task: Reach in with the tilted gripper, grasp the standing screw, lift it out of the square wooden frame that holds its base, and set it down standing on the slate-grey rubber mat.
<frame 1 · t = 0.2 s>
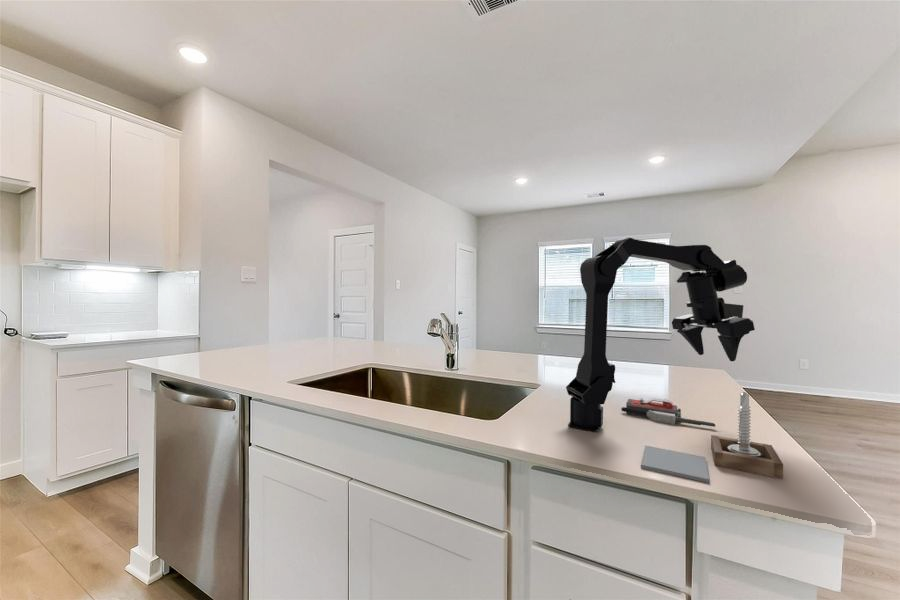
hand: (716, 357, 92), 15 cm above the worktop, tool pointing down, fingers open, 9 cm apart
square wooden frame: (743, 461, 69), on the worktop
mat: (673, 463, 68), on the worktop
walkie-talkie: (665, 420, 94), on the worktop
screw: (743, 462, 69), on the worktop
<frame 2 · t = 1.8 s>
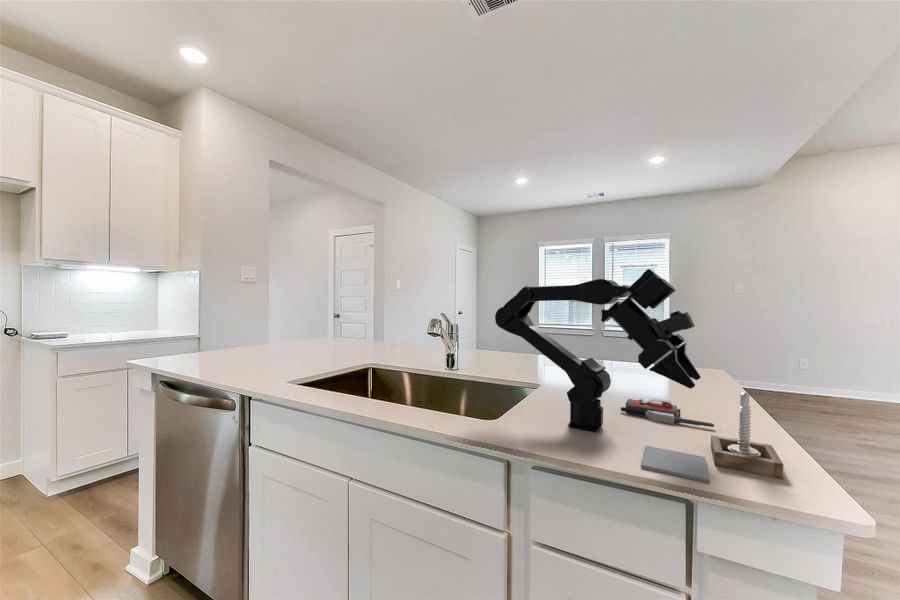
hand: (696, 382, 74), 13 cm above the worktop, tool tilted 45°, fingers open, 9 cm apart
nothing on the worktop moved.
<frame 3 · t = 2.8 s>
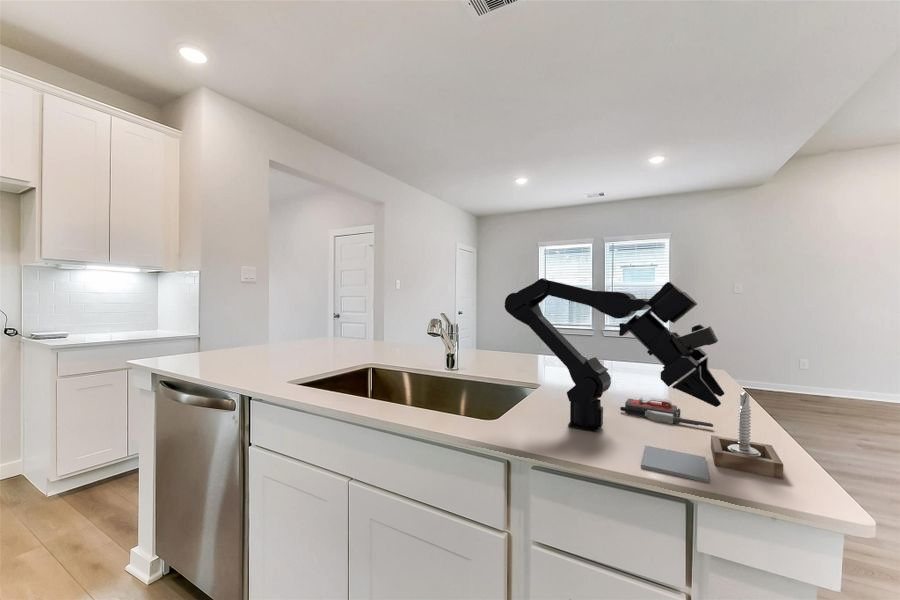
hand: (720, 400, 71), 11 cm above the worktop, tool tilted 45°, fingers open, 9 cm apart
nothing on the worktop moved.
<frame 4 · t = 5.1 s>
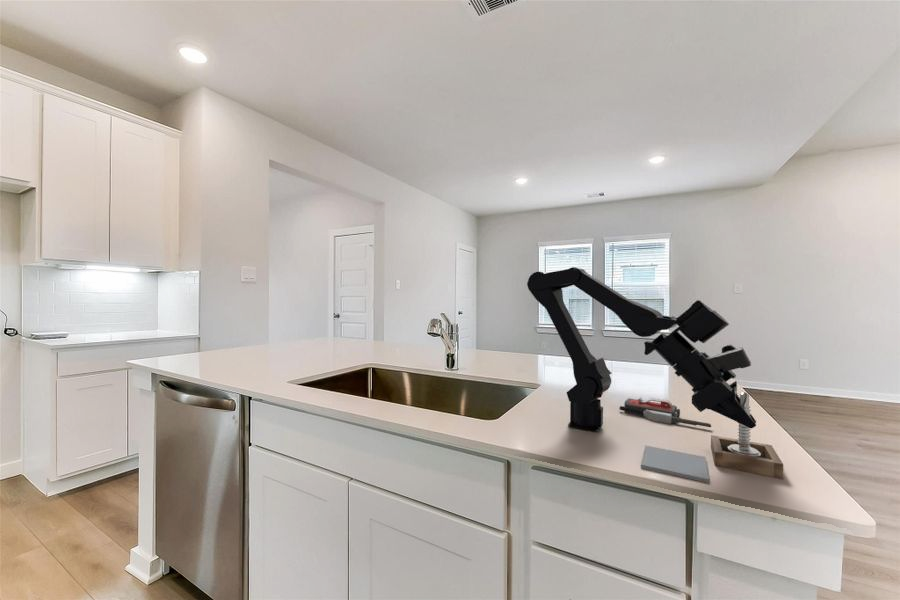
hand: (754, 425, 68), 7 cm above the worktop, tool tilted 45°, fingers closed on screw, 2 cm apart
screw: (743, 462, 69), on the worktop, touching gripper
everything else where it was.
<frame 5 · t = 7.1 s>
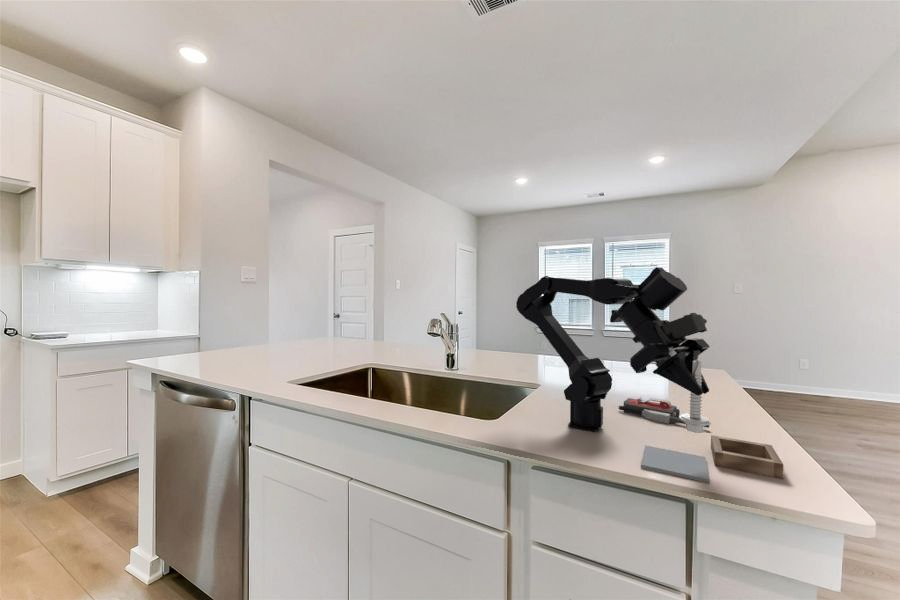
hand: (704, 393, 66), 13 cm above the worktop, tool tilted 45°, fingers closed on screw
screw: (694, 431, 68), point 6 cm above the worktop, touching gripper
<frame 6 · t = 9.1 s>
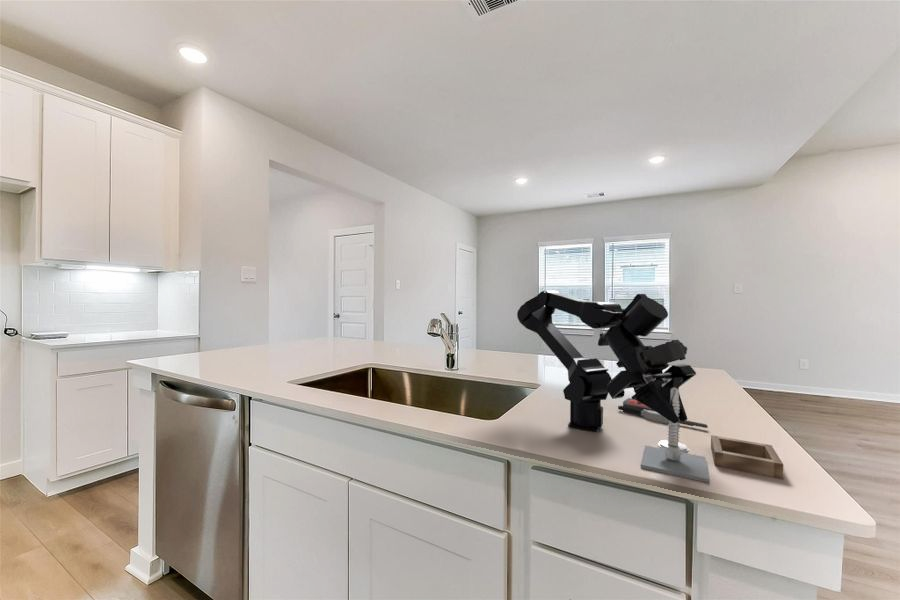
hand: (681, 421, 67), 8 cm above the worktop, tool tilted 45°, fingers closed on screw, 2 cm apart
screw: (672, 458, 68), point 1 cm above the worktop, touching gripper
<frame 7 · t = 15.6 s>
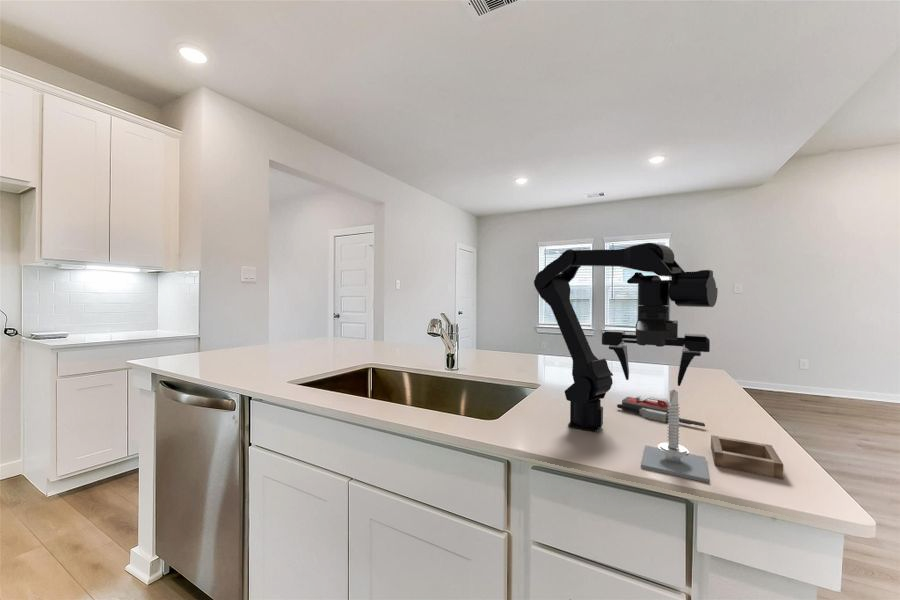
hand: (652, 382, 76), 13 cm above the worktop, tool pointing down, fingers open, 9 cm apart
screw: (672, 461, 68), on the worktop, touching mat
at the end: screw inside the target area on the mat (0.2 cm from its centre), point 0.4 cm above the mat's base; screw tilted 0°; the gripper is holding nothing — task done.
